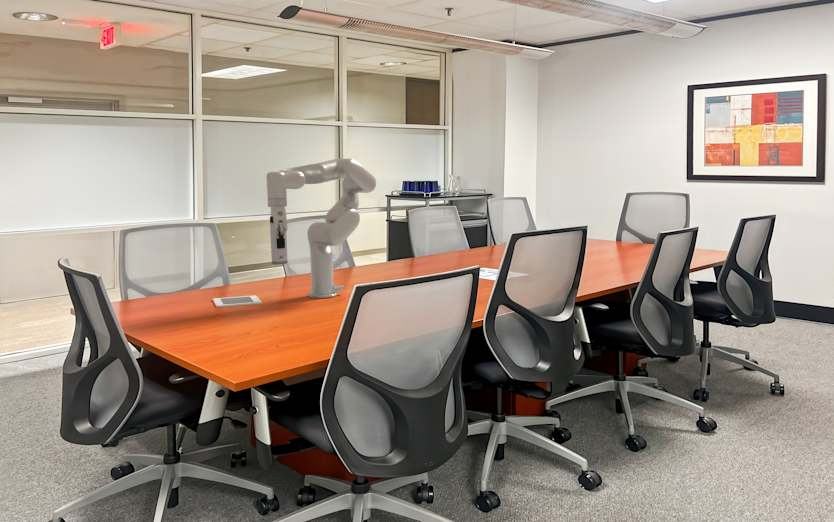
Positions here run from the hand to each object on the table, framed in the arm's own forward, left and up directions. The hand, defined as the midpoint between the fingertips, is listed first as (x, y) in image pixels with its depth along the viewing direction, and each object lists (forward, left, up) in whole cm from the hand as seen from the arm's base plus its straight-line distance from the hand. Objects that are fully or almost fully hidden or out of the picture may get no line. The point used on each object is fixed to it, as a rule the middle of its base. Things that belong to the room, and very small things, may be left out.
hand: (279, 246), depth 293 cm
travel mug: (0, 0, -7) cm, 7 cm away
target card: (+16, -11, -23) cm, 31 cm away
